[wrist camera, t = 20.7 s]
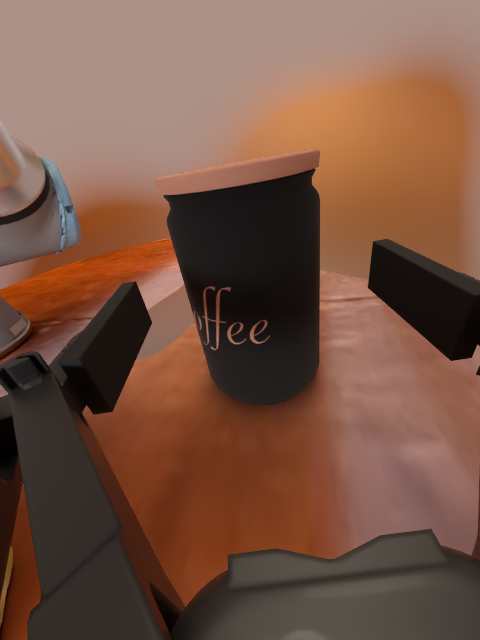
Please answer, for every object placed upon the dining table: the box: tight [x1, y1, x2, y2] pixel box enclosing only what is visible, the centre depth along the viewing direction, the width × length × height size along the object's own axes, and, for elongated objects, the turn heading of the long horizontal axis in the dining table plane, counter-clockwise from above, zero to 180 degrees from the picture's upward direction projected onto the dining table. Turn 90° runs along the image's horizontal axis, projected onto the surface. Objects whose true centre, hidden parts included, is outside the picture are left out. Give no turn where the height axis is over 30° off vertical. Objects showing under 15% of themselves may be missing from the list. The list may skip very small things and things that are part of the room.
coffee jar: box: [155, 149, 320, 405], centre depth 22 cm, size 11×11×18 cm
